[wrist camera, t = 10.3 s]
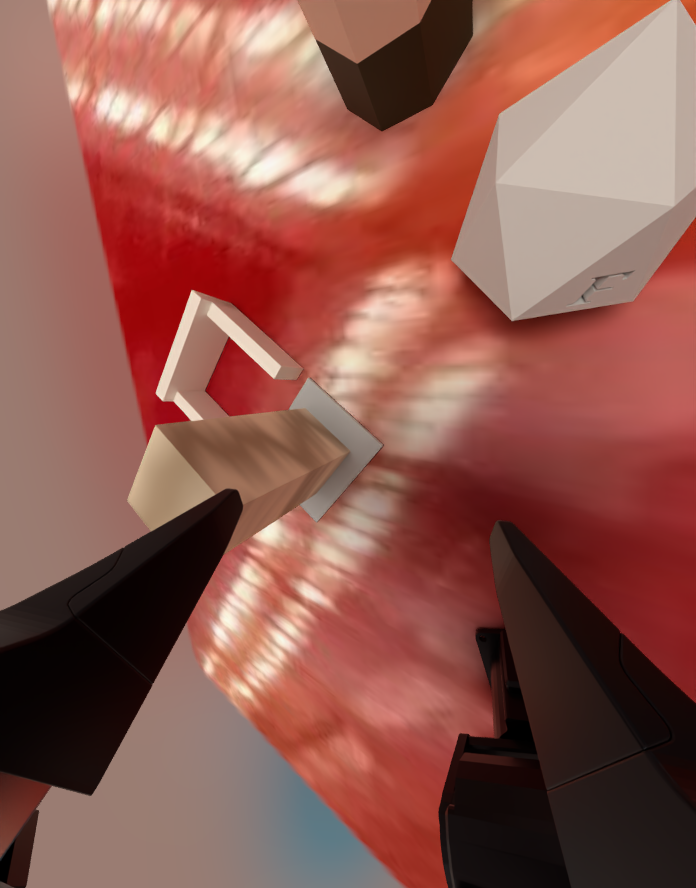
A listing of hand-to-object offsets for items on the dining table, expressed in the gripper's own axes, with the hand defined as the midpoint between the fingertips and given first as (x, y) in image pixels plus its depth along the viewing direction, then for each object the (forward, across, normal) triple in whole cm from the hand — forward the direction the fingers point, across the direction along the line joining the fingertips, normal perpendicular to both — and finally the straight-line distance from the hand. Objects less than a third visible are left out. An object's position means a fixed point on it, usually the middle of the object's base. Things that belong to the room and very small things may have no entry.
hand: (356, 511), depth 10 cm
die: (+14, -9, -8) cm, 18 cm away
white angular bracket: (+17, +14, +2) cm, 22 cm away
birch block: (+12, +6, +7) cm, 15 cm away
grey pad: (+13, +6, +7) cm, 16 cm away
